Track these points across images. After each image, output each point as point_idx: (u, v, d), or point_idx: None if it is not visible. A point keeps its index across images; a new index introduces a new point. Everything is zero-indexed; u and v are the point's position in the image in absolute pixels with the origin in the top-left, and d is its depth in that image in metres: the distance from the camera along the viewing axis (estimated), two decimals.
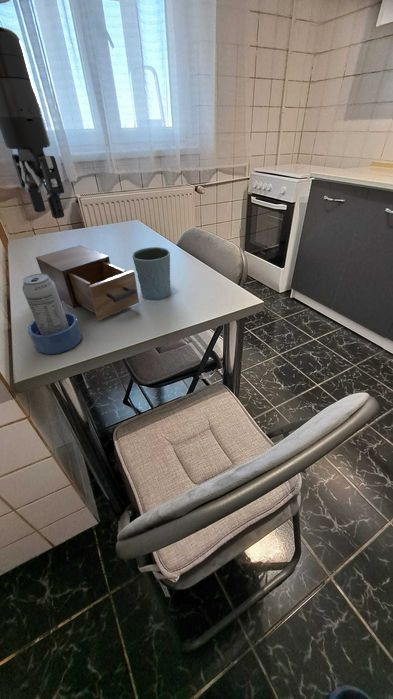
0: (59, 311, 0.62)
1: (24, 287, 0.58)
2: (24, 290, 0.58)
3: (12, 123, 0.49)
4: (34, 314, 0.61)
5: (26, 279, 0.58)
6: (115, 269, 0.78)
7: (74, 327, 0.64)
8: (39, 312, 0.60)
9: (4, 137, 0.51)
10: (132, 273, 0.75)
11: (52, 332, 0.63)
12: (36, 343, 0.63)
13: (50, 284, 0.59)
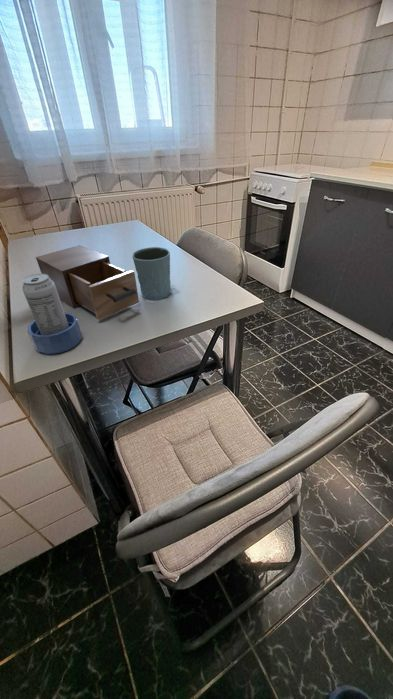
0: (59, 311, 0.62)
1: (24, 287, 0.58)
2: (24, 290, 0.58)
3: None
4: (34, 314, 0.61)
5: (26, 279, 0.58)
6: (115, 269, 0.78)
7: (74, 327, 0.64)
8: (39, 312, 0.60)
9: None
10: (132, 273, 0.75)
11: (52, 332, 0.63)
12: (36, 343, 0.63)
13: (50, 284, 0.59)
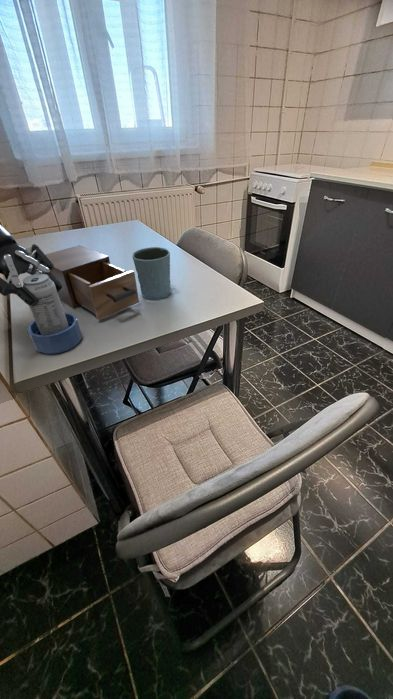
0: (59, 311, 0.62)
1: None
2: None
3: None
4: (34, 314, 0.61)
5: (26, 279, 0.58)
6: (115, 269, 0.78)
7: (74, 327, 0.64)
8: (39, 312, 0.60)
9: None
10: (132, 273, 0.75)
11: (52, 332, 0.63)
12: (36, 343, 0.63)
13: (50, 284, 0.59)
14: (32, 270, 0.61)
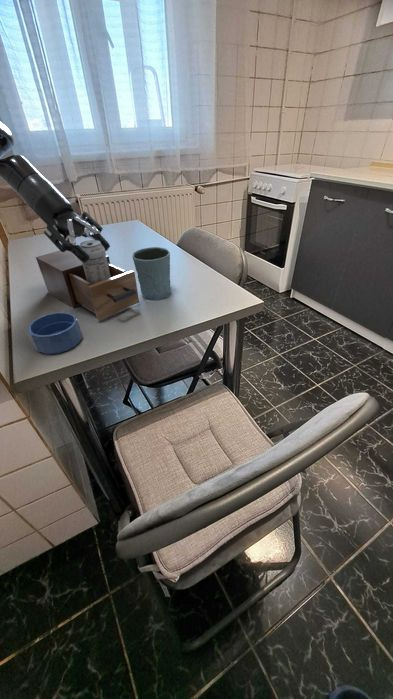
0: (107, 272, 0.75)
1: None
2: None
3: (61, 194, 0.70)
4: (87, 273, 0.73)
5: (82, 243, 0.71)
6: (115, 269, 0.78)
7: (74, 327, 0.64)
8: (92, 271, 0.72)
9: (62, 199, 0.67)
10: (132, 273, 0.75)
11: None
12: (36, 343, 0.63)
13: (102, 248, 0.72)
14: (86, 233, 0.74)
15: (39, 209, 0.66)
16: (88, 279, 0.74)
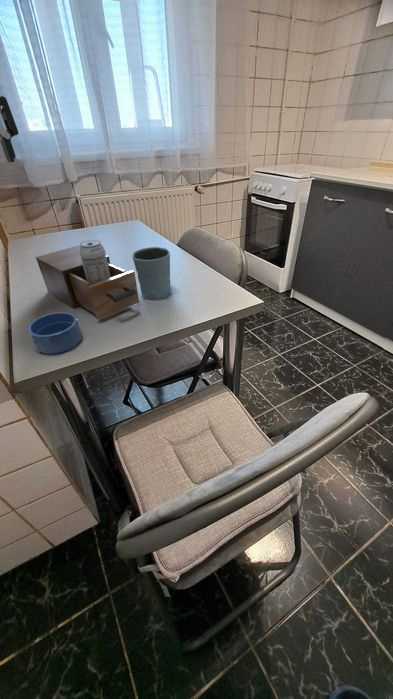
0: (107, 272, 0.75)
1: (81, 250, 0.70)
2: (81, 252, 0.70)
3: None
4: (87, 273, 0.73)
5: (82, 243, 0.71)
6: (115, 269, 0.78)
7: (74, 327, 0.64)
8: (92, 271, 0.72)
9: None
10: (132, 273, 0.75)
11: None
12: (36, 343, 0.63)
13: (102, 248, 0.72)
14: None
15: None
16: (88, 279, 0.74)
